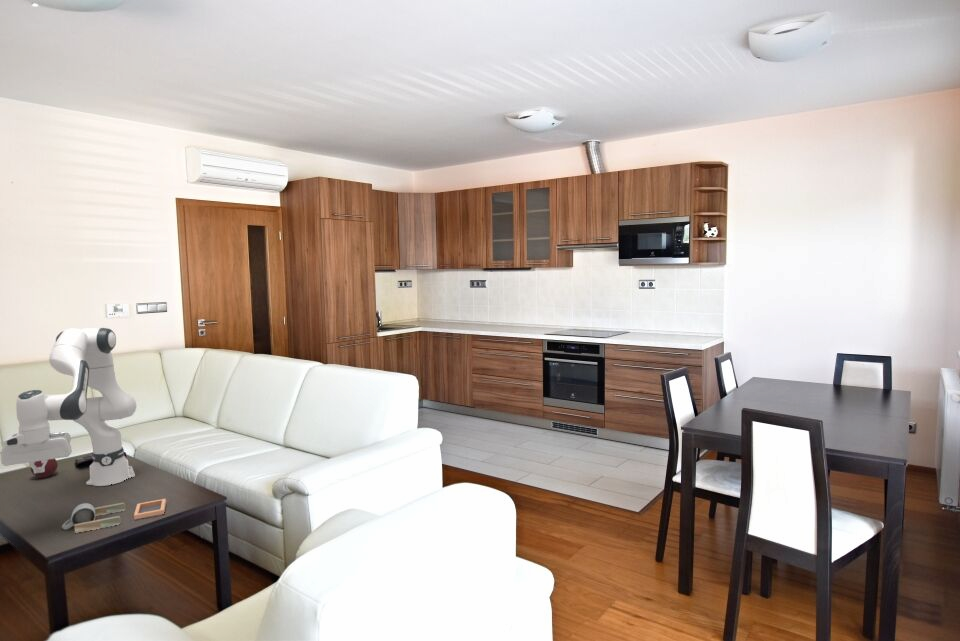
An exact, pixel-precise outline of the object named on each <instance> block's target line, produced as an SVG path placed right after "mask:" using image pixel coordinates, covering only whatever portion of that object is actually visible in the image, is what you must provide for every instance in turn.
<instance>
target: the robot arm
mask: <svg viewBox="0 0 960 641" xmlns="http://www.w3.org/2000/svg"><path fill="white" fill-rule="evenodd" d="M116 345H117V337H116V334H115V332H114V331H113V330H112V329H110V328H107V327H100V328H99V327H86V328H74V327H73V328H67V329H64V330H63V331H60V332H59V333H58V334H57V336H56V337H55V342H54V345H53V347H52V350H51V352H50V353H49V359H48V360H49V364H50V366H51V368H52V369H54V370H55V371H57V372H58V373H60V374H62V375H67V376H70V377H73V380H72V386H71V390H70V391H69V392H67V393H62V394H59V393H58V394H46V393H44V391H43V390H41V389H32V390H27V391H24V392H22V393H20V394H18V396H17V397H16V406H15V409H16V419H17V421H18V425H19V427H18V432H17V433H15V434H11V435H9V436H8V437H6V438H5V439H4V440H3V442H2V445H3V446H4V447H3V448H2V450H1V453H0V454H1V455H0V459H1V460H0V461H1V465H3V466H5V467H6V466H14V465H15V466H16V465H21V464H28V466H29V467H30V469H31V468H32V469H33V470H34V474H35V473H42V472H44V471H45V465H46V463H47V461H48V460H49V459H56V460H57V459H60V458H68V457H70V455H71V454H72V453H73V450H72V446H71V434H70V433H68V432H65V431H61V432H52V433H51V430H50V428H51V427H50V423H49V421H73V422H75V423H76V424H78V425H80V426H81V427H82V428H84V429H85V430H86V431H87V433H88V434H89V437H90V440H91V446H92V454H91V457H92V463H91V464H90V465H89V479H88V480H87V481H86V483H85V484H86V485H88V486H94V487H104V486H105V487H106V486H110V485H111V484H112V485H115V484H119V483H122V482H124V480H125V481H126V479H127V480H128V478H129V479H132V478H134V477H136V474H135V471H134V468H133V466H132V465H129V460H128V459H127V457H126V456H125V449H124V447H123V445H122V444H123V442H122V434H121V431H119V430H118V429H117V428H115V427H113V426H109V424H108V423H106V421H115V420H116V421H117V420H122V419H126V418H128V417H132V416H133V415H134V414H135V412H136V409H137V402H136V400H135V398H134V397H133V396H131V395H130V394H127V393H126V392H125V391H123V389H122V388H121V387H120V386H119V384H118V381H117V380H116V373H115V367H114V358H113V354H112V351H113V349H114V348H115V346H116ZM88 388H90V389H92V390H95V391H98V392H99V393H100V394H101V396H93V397H87V396H88ZM35 461H41V463H43V465H42V467H36V466H35V465H34V463H35ZM34 474H33V475H34ZM131 477H132V478H131Z"/></svg>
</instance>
